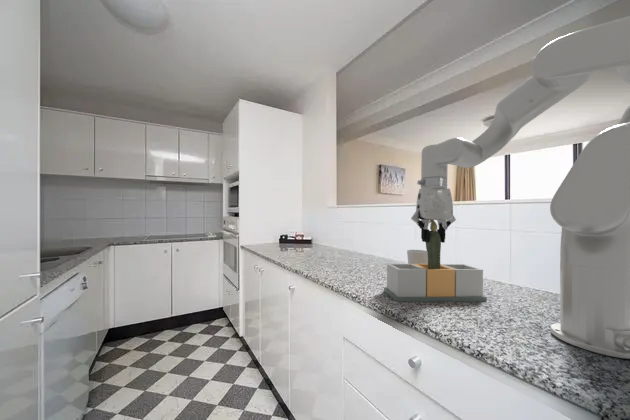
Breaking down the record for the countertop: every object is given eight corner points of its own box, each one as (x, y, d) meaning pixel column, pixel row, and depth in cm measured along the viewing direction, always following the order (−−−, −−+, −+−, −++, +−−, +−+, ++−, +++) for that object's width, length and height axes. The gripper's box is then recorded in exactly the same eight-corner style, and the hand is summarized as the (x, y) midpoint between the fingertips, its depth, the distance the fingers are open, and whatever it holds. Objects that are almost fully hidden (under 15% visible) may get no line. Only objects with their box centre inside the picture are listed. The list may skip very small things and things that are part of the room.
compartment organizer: (486, 301, 73) (486, 270, 73) (396, 301, 71) (396, 269, 71) (463, 290, 83) (463, 263, 83) (383, 291, 81) (384, 263, 81)
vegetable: (443, 284, 75) (443, 218, 75) (428, 283, 75) (429, 218, 76) (436, 280, 79) (436, 218, 80) (422, 279, 79) (423, 218, 80)
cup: (425, 280, 96) (425, 250, 96) (432, 286, 88) (433, 253, 88) (404, 279, 97) (404, 249, 97) (410, 285, 89) (410, 252, 89)
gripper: (414, 182, 73) (413, 242, 73) (467, 184, 75) (466, 243, 74) (403, 185, 81) (402, 240, 81) (451, 186, 82) (450, 241, 82)
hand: (433, 241), depth 77 cm, fingers closed on vegetable, 4 cm apart
